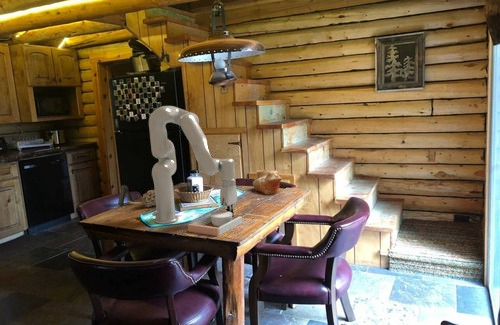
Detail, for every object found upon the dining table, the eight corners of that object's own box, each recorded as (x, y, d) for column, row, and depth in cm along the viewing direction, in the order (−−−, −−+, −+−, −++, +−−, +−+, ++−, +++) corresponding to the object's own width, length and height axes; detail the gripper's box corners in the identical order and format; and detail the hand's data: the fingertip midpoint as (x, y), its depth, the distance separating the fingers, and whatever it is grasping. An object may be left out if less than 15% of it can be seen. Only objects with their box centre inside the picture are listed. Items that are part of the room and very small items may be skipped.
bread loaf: (269, 196, 253) (268, 173, 251) (249, 189, 276) (248, 168, 274) (287, 193, 260) (286, 170, 258) (266, 186, 283) (265, 165, 280)
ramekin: (227, 228, 193) (226, 217, 192) (206, 226, 197) (206, 216, 196) (236, 221, 203) (236, 211, 203) (216, 220, 208) (216, 210, 207)
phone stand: (120, 206, 244) (118, 187, 242) (117, 204, 249) (115, 186, 247) (134, 204, 249) (133, 185, 247) (132, 202, 254) (130, 183, 252)
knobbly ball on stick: (159, 202, 250) (157, 187, 248) (166, 205, 242) (165, 189, 241) (125, 209, 236) (123, 193, 235) (131, 212, 229) (130, 196, 227)
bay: (188, 231, 191) (187, 224, 191) (214, 218, 210) (214, 212, 209) (217, 236, 183) (217, 228, 182) (242, 222, 202) (241, 215, 201)
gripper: (229, 179, 213) (231, 212, 215) (214, 185, 200) (216, 220, 203) (241, 180, 209) (243, 214, 212) (226, 186, 196) (228, 222, 199)
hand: (230, 217), depth 207 cm, fingers closed
